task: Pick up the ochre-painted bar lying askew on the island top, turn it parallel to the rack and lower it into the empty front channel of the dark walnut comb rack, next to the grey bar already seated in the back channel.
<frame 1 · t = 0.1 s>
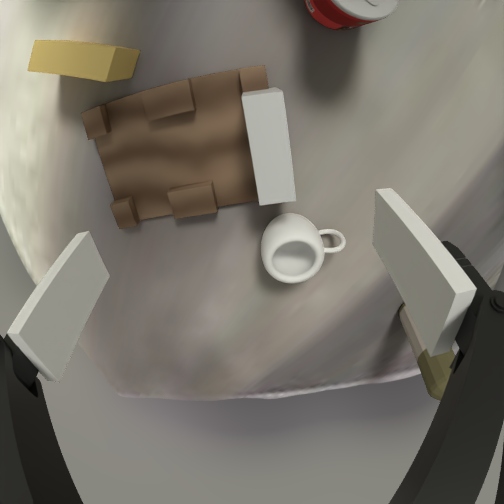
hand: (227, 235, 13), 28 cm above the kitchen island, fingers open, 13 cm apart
mug: (299, 229, 45), on the kitchen island
ochre bar: (97, 57, 30), on the kitchen island
bottle: (410, 305, 55), on the kitchen island
canned food: (333, 4, 27), on the kitchen island
comb rack: (183, 147, 38), on the kitchen island
grey bar: (266, 134, 36), point 1 cm above the kitchen island, touching comb rack
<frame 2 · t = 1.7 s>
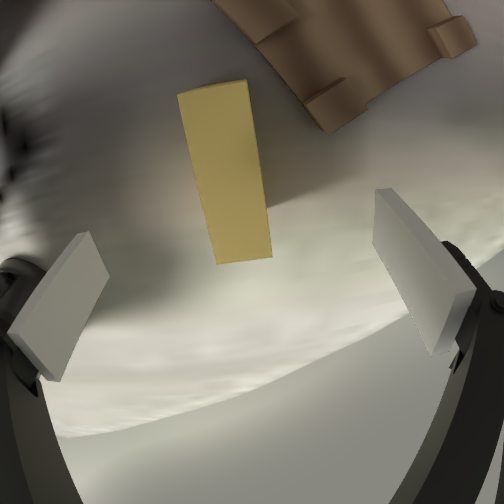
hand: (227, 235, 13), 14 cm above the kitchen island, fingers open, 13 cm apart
ochre bar: (234, 149, 25), on the kitchen island
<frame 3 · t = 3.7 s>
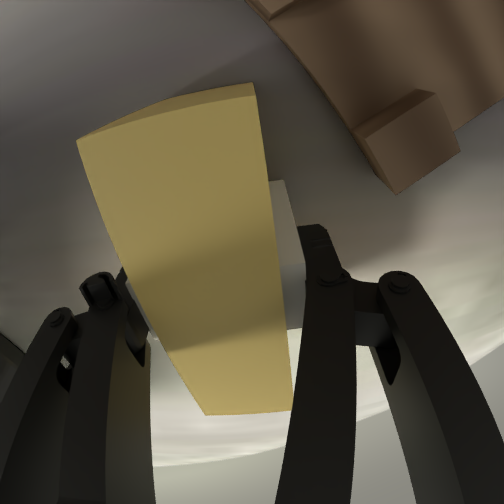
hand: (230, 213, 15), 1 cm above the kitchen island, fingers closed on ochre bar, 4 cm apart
ochre bar: (231, 206, 15), on the kitchen island, touching gripper
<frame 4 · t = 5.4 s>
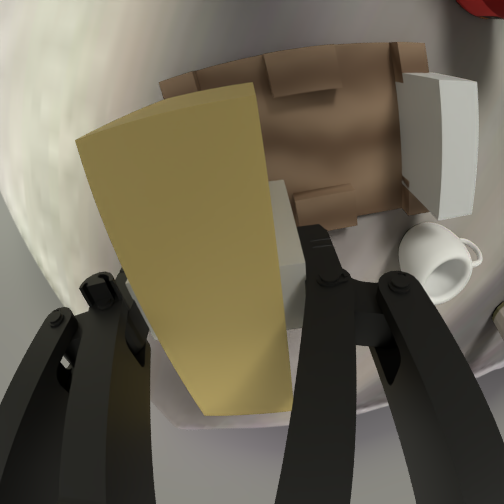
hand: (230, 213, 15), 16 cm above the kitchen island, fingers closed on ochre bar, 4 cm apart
mug: (429, 239, 34), on the kitchen island
ochre bar: (230, 207, 15), point 15 cm above the kitchen island, touching gripper
bottle: (501, 307, 43), on the kitchen island
comb rack: (313, 138, 27), on the kitchen island
grey bar: (416, 128, 25), point 1 cm above the kitchen island, touching comb rack
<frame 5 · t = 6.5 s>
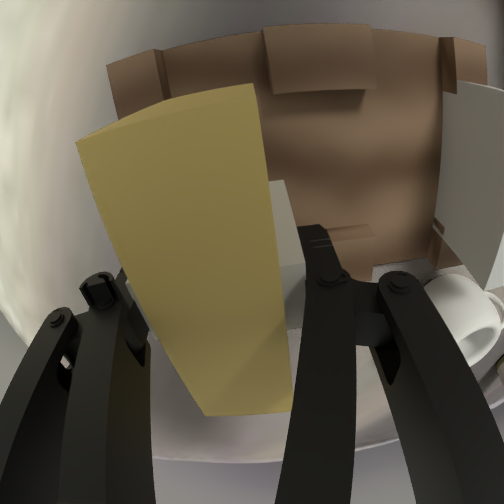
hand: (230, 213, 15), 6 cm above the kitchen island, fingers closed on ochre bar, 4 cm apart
mug: (449, 291, 27), on the kitchen island
ochre bar: (231, 207, 15), point 6 cm above the kitchen island, touching gripper
comb rack: (324, 159, 20), on the kitchen island
grey bar: (460, 157, 18), point 1 cm above the kitchen island, touching comb rack
when the fingers open (4 cm above the kitchen island, at t = 7.2 s): ochre bar drops 2 cm, resting on comb rack.
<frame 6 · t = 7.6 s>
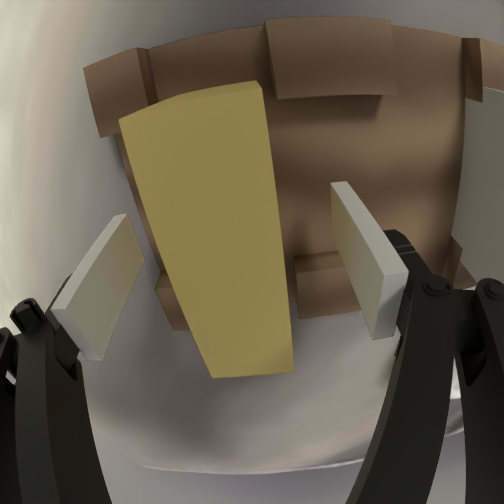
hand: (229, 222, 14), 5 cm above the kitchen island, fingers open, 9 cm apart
ochre bar: (236, 190, 17), point 1 cm above the kitchen island, touching comb rack
comb rack: (333, 173, 17), on the kitchen island
grey bar: (481, 170, 16), point 1 cm above the kitchen island, touching comb rack
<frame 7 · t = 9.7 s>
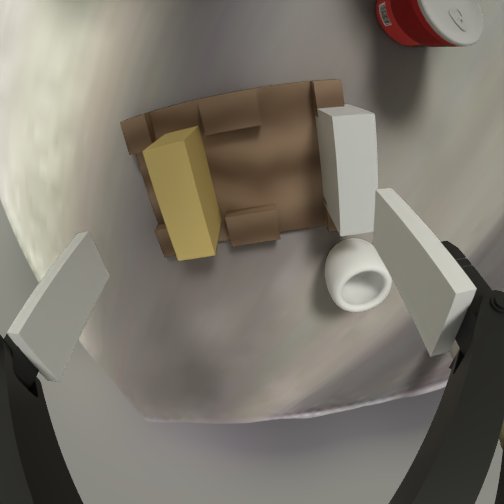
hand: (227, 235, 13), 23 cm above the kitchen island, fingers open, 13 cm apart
mug: (359, 253, 42), on the kitchen island
ochre bar: (194, 177, 35), point 1 cm above the kitchen island, touching comb rack
canned food: (402, 18, 24), on the kitchen island
comb rack: (242, 166, 35), on the kitchen island
grey bar: (336, 155, 33), point 1 cm above the kitchen island, touching comb rack
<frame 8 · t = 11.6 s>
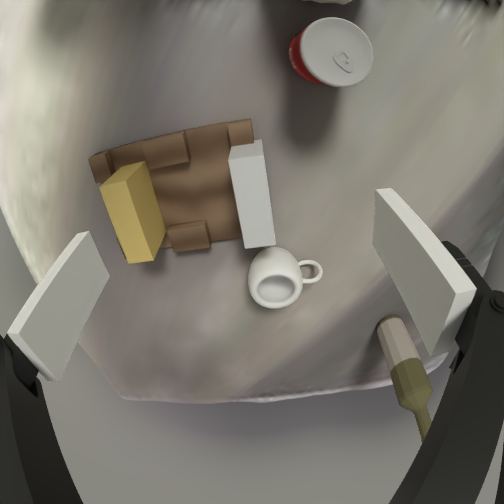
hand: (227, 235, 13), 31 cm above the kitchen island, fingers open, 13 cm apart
mug: (283, 259, 52), on the kitchen island
ochre bar: (144, 199, 44), point 1 cm above the kitchen island, touching comb rack
bottle: (388, 322, 62), on the kitchen island
canned food: (316, 55, 33), on the kitchen island
comb rack: (180, 190, 44), on the kitchen island
grey bar: (253, 181, 43), point 1 cm above the kitchen island, touching comb rack
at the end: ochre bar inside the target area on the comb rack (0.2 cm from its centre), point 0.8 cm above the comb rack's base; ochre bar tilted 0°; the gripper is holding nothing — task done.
